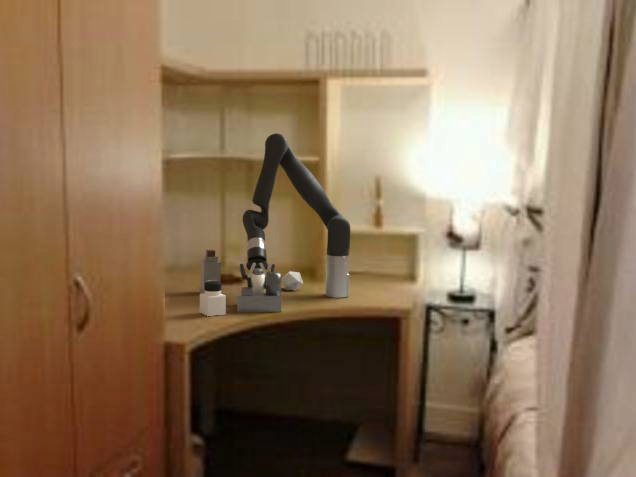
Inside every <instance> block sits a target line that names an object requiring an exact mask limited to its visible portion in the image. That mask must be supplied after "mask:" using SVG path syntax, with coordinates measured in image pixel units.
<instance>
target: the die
mask: <svg viewBox="0 0 636 477" xmlns="http://www.w3.org/2000/svg"><path fill="white" fill-rule="evenodd" d="M281 282H282V283H283V286H284V289H285V290H286V291H291V290H292V292H296V291H297V290H299V289H300V288H301V286H303V285H304V281H303V278H302V276H301V273H300V272H299V271H298V272H297V271H291V270H289V271H288V272H287V273H286V274H285V275H284V276H283V277H281Z"/></svg>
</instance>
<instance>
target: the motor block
mask: <svg viewBox="0 0 636 477" xmlns="http://www.w3.org/2000/svg"><path fill="white" fill-rule="evenodd" d="M236 294H237V295H236V296H237V297H236V299H237V300H236V303H237V304H236V310H237V311H236V312H237V313H282V298H283V297H282V272H279V271H274V272H271V271H268V272H267V271H266V289H265V292H264V293H253V288H252V287H248V286H247V287H246V286H243V287H241V292H237V293H236Z"/></svg>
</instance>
